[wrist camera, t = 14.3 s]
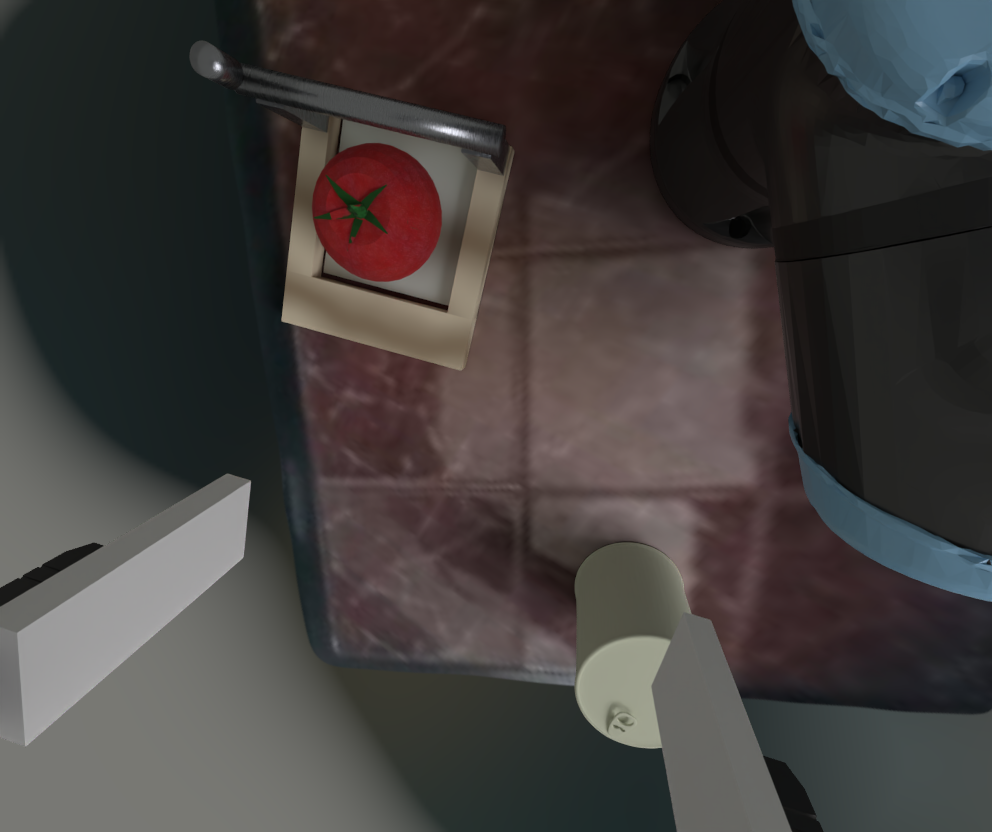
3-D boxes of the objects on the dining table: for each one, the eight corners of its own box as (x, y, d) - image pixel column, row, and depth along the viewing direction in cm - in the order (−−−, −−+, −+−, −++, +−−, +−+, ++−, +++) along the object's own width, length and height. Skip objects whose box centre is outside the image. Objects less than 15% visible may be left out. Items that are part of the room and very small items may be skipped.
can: (555, 601, 45) (548, 713, 34) (608, 522, 42) (620, 616, 31) (646, 649, 45) (669, 778, 34) (705, 574, 42) (752, 686, 31)
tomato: (331, 260, 39) (271, 258, 32) (354, 139, 37) (296, 105, 29) (435, 296, 39) (401, 302, 31) (468, 176, 36) (439, 152, 29)
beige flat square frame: (316, 103, 37) (305, 96, 35) (514, 151, 36) (511, 146, 34) (292, 319, 42) (281, 321, 40) (465, 366, 40) (461, 370, 39)
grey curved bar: (288, 94, 35) (190, 35, 26) (518, 149, 34) (497, 107, 25) (285, 122, 36) (188, 74, 27) (511, 178, 35) (489, 146, 26)
